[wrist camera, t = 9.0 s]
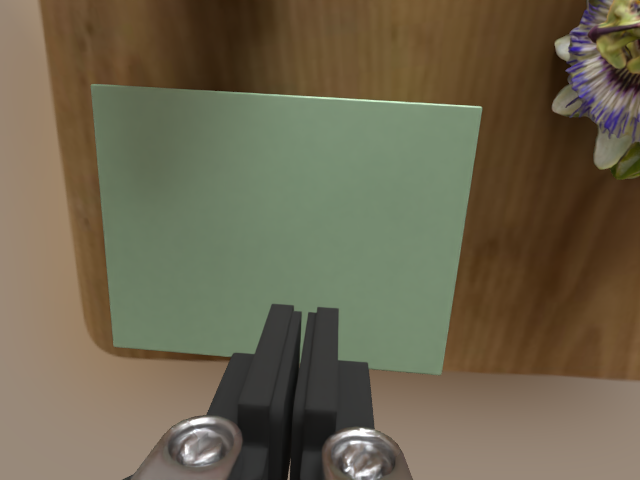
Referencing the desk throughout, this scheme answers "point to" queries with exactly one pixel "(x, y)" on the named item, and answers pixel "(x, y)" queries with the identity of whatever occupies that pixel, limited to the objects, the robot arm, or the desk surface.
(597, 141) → the passion flower
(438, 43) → the desk surface
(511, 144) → the desk surface
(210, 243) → the lid
